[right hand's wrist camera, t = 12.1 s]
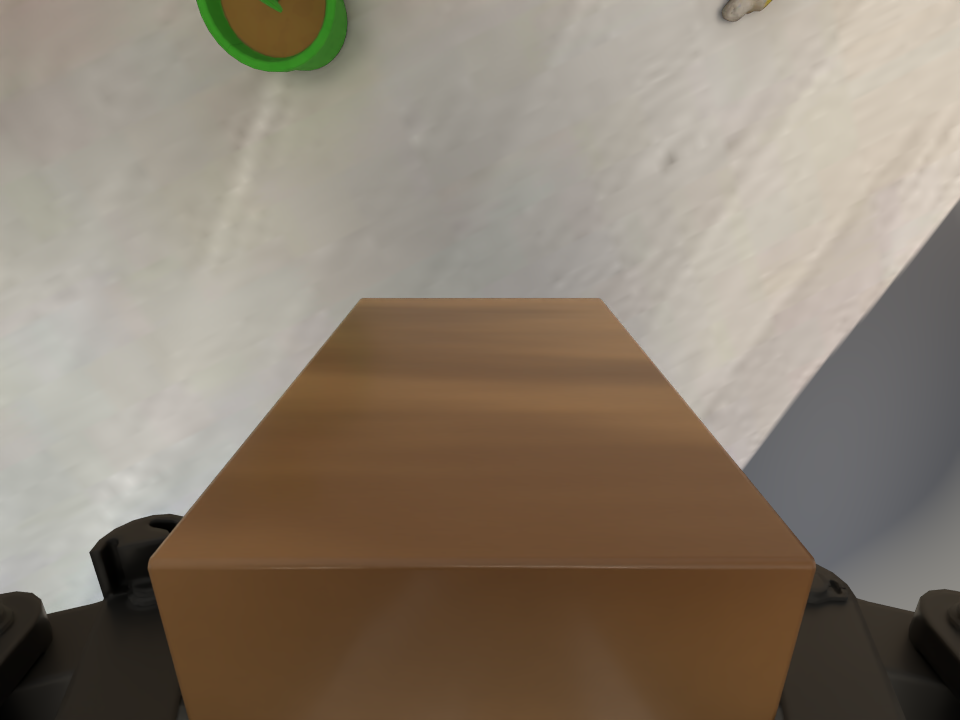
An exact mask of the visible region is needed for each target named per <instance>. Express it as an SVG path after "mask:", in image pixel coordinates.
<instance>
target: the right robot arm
mask: <svg viewBox="0 0 960 720" xmlns="http://www.w3.org/2000/svg"><path fill="white" fill-rule="evenodd" d="M182 518H183V516H178V515H173V514H163V515H152V516H148V517H144V518H140V519H137V520H133V521H131V522H129V523H127V524H125V525H122V526H120V527H118V528H116V529H114V530H113V531H111V532H110V533H108V534H107V535H106V536H104V537H103V538H101V539H100V540H99V541H98V542H97V543H96V545H95V546H94V547H93V549H92V550H91V551H90V552H89V553H90V556H91V559H92V562H93V565H94V568H95V572H96V575H97V578H98V581H99V584H100V587H101V590H102V593H103V597H104V600H103V601H100V602H97V603H94V604H90V605H85V606H81V607H76V608H72V609H68V610H63V611H59V612H55V613H50V614H46V611H45V609H44V606H43V603H42V601H41V599H40V598H38V597H37V596H36V595H34V594H33V593H28V592H18V591H16V592H10V593H4V594H0V720H189V719H188V715H187V712H186V708H185V704H184V701H183V697H182V693H181V690H180V686H179V682H178V679H177V675H176V671H175V668H174V664H173V660H172V657H171V653H170V649H169V645H168V642H167V638H166V634H165V631H164V627H163V623H162V620H161V616H160V612H159V609H158V605H157V601H156V598H155V594H154V590H153V586H152V583H151V579H150V575H149V572H148V562H149V559H150V557H151V556H152V555H153V554H154V552H155V551H156V550H157V549H158V548H159V546H160V545H161V544H162V543H163V541H164V540H165V539H166V538H167V536H168V535H169V534H170V533H171V532H172V530H173V529H174V528H175V527H176V525H177V524H178V523H179V522H180V520H181V519H182ZM775 720H960V592H958V591H953V590H947V589H942V590H931V591H928V592H927V593H925V594H924V595H923V596H921V597H920V599H919V602H918V605H917V608H916V610H915V612H912V611H907V610H903V609H898V608H894V607H890V606H885V605H881V604H876V603H872V602H868V601H864V600H861V599H857V598H856V597H855V595H854V594H853V592H852V591H851V589H850V588H849V586H848V585H847V584H846V583H845V582H844V581H842V580H841V579H840V578H839V577H837V576H836V575H835V574H834V573H833V572H831V571H829V570H827V569H825V568H823V567H821V566H819V565H817V564H816V571H815V575H814V578H813V582H812V585H811V589H810V593H809V596H808V600H807V604H806V607H805V611H804V615H803V618H802V622H801V625H800V629H799V633H798V636H797V640H796V644H795V647H794V651H793V655H792V658H791V662H790V665H789V669H788V673H787V676H786V680H785V684H784V687H783V691H782V695H781V698H780V702H779V706H778V709H777V713H776V716H775Z"/></svg>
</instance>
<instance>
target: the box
mask: <svg viewBox="0 0 960 720" xmlns="http://www.w3.org/2000/svg"><path fill="white" fill-rule="evenodd" d="M815 571H816V564H815V560H814V558H813V557H812V555H811V554H810V553H809V552H808V551H807V549H806V548H805V547H804V546H803V545H802V543H801V542H800V541H799V540H798V538H797V537H796V536H795V535H794V533H793V532H792V531H791V530H790V529H789V527H788V526H787V525H786V524H785V523H784V521H783V520H782V519H781V518H780V516H779V515H778V514H777V513H776V512H775V510H774V509H773V508H772V507H771V506H770V504H769V503H768V502H767V501H766V500H765V498H764V497H763V496H762V495H761V493H760V492H759V491H758V490H757V488H756V487H755V486H754V485H753V484H752V482H751V481H750V480H749V479H748V478H747V476H746V475H745V474H744V473H743V471H742V470H741V469H740V468H739V467H738V465H737V464H736V463H735V462H734V460H733V459H732V458H731V457H730V456H729V454H728V453H727V452H726V451H725V450H724V448H723V447H722V446H721V445H720V443H719V442H718V441H717V440H716V439H715V437H714V436H713V435H712V434H711V432H710V431H709V430H708V429H707V428H706V426H705V425H704V424H703V423H702V422H701V420H700V419H699V418H698V417H697V415H696V414H695V413H694V412H693V411H692V409H691V408H690V407H689V406H688V405H687V403H686V402H685V401H684V400H683V398H682V397H681V396H680V395H679V394H678V392H677V391H676V390H675V389H674V387H673V386H672V385H671V384H670V383H669V381H668V380H667V379H666V378H665V377H664V375H663V374H662V373H661V372H660V370H659V369H658V368H657V367H656V366H655V364H654V363H653V362H652V361H651V359H650V358H649V357H648V356H647V355H646V353H645V352H644V351H643V350H642V349H641V347H640V346H639V345H638V344H637V342H636V341H635V340H634V339H633V338H632V336H631V335H630V334H629V333H628V332H627V330H626V329H625V328H624V327H623V325H622V324H621V323H620V322H619V321H618V319H617V318H616V317H615V316H614V314H613V313H612V312H611V311H610V310H609V308H608V307H607V306H606V305H605V304H604V302H603V301H602V300H601V299H599V298H362V299H360V300H359V302H358V303H357V304H356V305H355V306H354V308H353V309H352V310H351V311H350V313H349V314H348V315H347V316H346V318H345V319H344V320H343V321H342V322H341V324H340V325H339V326H338V327H337V329H336V330H335V331H334V332H333V334H332V335H331V336H330V337H329V338H328V340H327V341H326V342H325V343H324V345H323V346H322V347H321V348H320V350H319V351H318V352H317V353H316V354H315V356H314V357H313V358H312V359H311V361H310V362H309V363H308V364H307V366H306V367H305V368H304V369H303V370H302V372H301V373H300V374H299V375H298V377H297V378H296V379H295V380H294V382H293V383H292V384H291V385H290V386H289V388H288V389H287V390H286V391H285V393H284V394H283V395H282V396H281V397H280V399H279V400H278V401H277V402H276V404H275V405H274V406H273V407H272V409H271V410H270V411H269V412H268V413H267V415H266V416H265V417H264V418H263V420H262V421H261V422H260V423H259V425H258V426H257V427H256V428H255V429H254V431H253V432H252V433H251V434H250V436H249V437H248V438H247V439H246V441H245V442H244V443H243V444H242V445H241V447H240V448H239V449H238V450H237V452H236V453H235V454H234V455H233V457H232V458H231V459H230V460H229V461H228V463H227V464H226V465H225V466H224V468H223V469H222V470H221V471H220V472H219V474H218V475H217V476H216V477H215V479H214V480H213V481H212V482H211V484H210V485H209V486H208V487H207V488H206V490H205V491H204V492H203V493H202V495H201V496H200V497H199V498H198V500H197V501H196V502H195V503H194V504H193V506H192V507H191V508H190V509H189V511H188V512H187V513H186V514H185V516H184V517H183V518H182V519H181V520H180V522H179V523H178V524H177V525H176V527H175V528H174V529H173V530H172V532H171V533H170V534H169V535H168V536H167V538H166V539H165V540H164V541H163V543H162V544H161V545H160V546H159V548H158V549H157V550H156V551H155V552H154V554H153V555H152V556H151V557H150V559H149V562H148V572H149V575H150V579H151V583H152V586H153V590H154V594H155V598H156V601H157V605H158V609H159V612H160V616H161V620H162V623H163V627H164V631H165V634H166V638H167V642H168V645H169V649H170V653H171V657H172V660H173V664H174V668H175V671H176V675H177V679H178V682H179V686H180V690H181V693H182V697H183V701H184V704H185V708H186V712H187V715H188V719H189V720H775V716H776V713H777V709H778V706H779V702H780V698H781V695H782V691H783V687H784V684H785V680H786V676H787V673H788V669H789V665H790V662H791V658H792V655H793V651H794V647H795V644H796V640H797V636H798V633H799V629H800V625H801V622H802V618H803V615H804V611H805V607H806V604H807V600H808V596H809V593H810V589H811V585H812V582H813V578H814V575H815Z"/></svg>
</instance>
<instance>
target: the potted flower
mask: <svg viewBox="0 0 960 720" xmlns="http://www.w3.org/2000/svg"><path fill="white" fill-rule="evenodd" d="M196 1H197V4H198V7H199V10H200V13H201V16H202V18H203V20H204V22H205V24H206V26H207V28H208V30H209V32H210V33H211V34H212V36H213V37H214V38H215V40H216V41H217V43H218V44H219V45H220V46H221V47H222V48H223V49H224V50H225V51H226V52H227V53H228V54H229V55H231V56H232V57H234V58H235V59H237V60H238V61H240V62H241V63H243V64H245V65H248V66H250V67H252V68H254V69H259V70H263V71H268V72H289V71H293V70H314V69H319V68H321V67H323V66H325V65H327V64H328V63H329V62H330V61H332V60H333V59H334V58H335V56H336V55H337V54H338V53H339V51H340V49H341V47H342V45H343V43H344V40H345V36H346V31H347V13H346V9H345V5H344V1H343V0H196Z"/></svg>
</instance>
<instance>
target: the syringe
mask: <svg viewBox="0 0 960 720" xmlns="http://www.w3.org/2000/svg"><path fill="white" fill-rule="evenodd" d="M771 1H772V0H730V1H729V2H728V3H727V4H726V5H725V7H724V8H723V10H722V16H723V18H724V19H726V20H728V21H731V22H734V21H737V20H739V19H740V18H741V17H742V16H744V15H745V14H748V13H751V12H753V11H761V10H762V9H764V8H765V7H766V6H767V5H768V4H769V3H770V2H771Z"/></svg>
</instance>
